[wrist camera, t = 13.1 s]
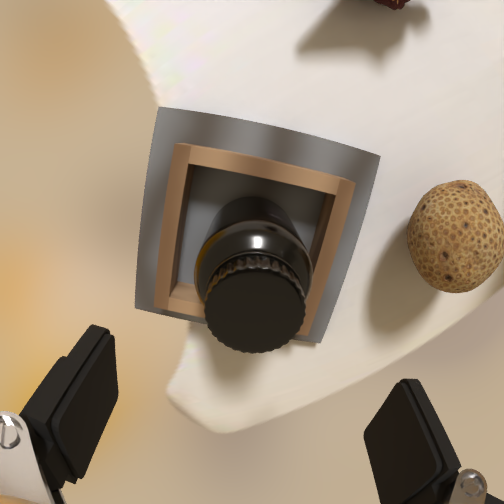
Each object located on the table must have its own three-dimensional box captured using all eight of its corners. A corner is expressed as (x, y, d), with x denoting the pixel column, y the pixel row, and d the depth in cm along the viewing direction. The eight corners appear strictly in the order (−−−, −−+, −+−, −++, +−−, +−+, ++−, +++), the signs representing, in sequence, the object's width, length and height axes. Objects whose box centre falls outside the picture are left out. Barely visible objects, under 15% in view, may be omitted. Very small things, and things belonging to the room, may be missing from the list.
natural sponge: (423, 150, 24) (494, 163, 15) (475, 209, 26) (541, 240, 16) (367, 230, 27) (419, 277, 17) (426, 279, 28) (479, 332, 19)
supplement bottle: (246, 289, 27) (242, 389, 16) (192, 230, 25) (148, 303, 14) (311, 242, 26) (353, 321, 14) (259, 176, 24) (265, 209, 13)
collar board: (375, 155, 24) (396, 158, 20) (318, 336, 30) (326, 362, 26) (162, 108, 23) (146, 102, 19) (138, 302, 29) (124, 325, 25)
